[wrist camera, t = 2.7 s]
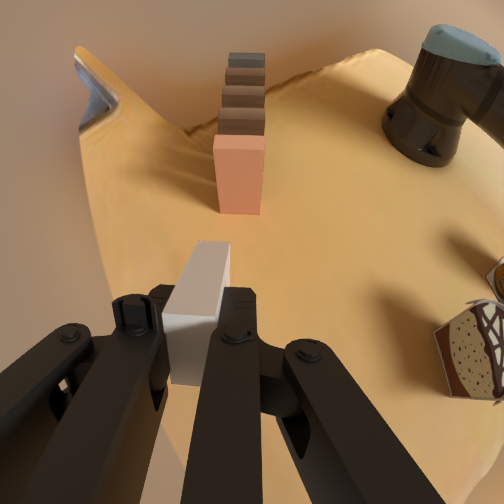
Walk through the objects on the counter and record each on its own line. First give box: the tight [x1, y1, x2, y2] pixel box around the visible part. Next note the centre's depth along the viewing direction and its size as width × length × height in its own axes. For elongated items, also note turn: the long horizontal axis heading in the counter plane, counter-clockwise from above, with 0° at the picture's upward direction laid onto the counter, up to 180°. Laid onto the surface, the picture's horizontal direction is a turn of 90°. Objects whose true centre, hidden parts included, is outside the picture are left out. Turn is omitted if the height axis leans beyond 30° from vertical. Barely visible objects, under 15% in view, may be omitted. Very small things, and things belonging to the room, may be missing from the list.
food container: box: [433, 299, 504, 406], centre depth 27 cm, size 12×6×10 cm, turn 14°
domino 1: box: [228, 53, 265, 68], centre depth 42 cm, size 2×5×12 cm, turn 88°
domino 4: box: [218, 108, 265, 136], centre depth 36 cm, size 2×5×12 cm, turn 88°
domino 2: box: [225, 68, 265, 86], centre depth 40 cm, size 2×5×12 cm, turn 88°
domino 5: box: [213, 135, 265, 215], centre depth 35 cm, size 2×5×12 cm, turn 88°
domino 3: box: [222, 86, 265, 109], centre depth 38 cm, size 2×5×12 cm, turn 89°
